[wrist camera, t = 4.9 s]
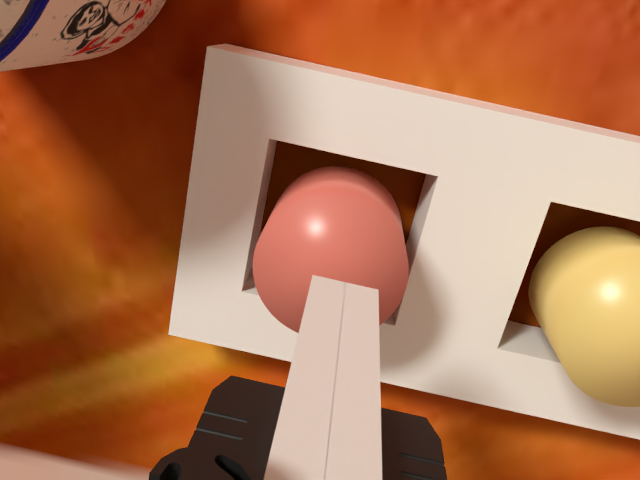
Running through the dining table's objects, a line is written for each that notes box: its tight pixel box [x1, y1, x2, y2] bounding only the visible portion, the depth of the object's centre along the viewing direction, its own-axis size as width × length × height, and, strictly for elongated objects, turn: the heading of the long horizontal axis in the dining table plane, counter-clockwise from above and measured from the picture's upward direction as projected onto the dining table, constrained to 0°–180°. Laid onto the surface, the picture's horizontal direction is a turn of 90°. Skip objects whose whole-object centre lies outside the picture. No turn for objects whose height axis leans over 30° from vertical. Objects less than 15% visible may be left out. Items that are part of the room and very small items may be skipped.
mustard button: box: [529, 226, 640, 407], centre depth 18 cm, size 4×4×4 cm
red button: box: [253, 166, 409, 333], centre depth 18 cm, size 4×4×4 cm
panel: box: [168, 43, 640, 440], centre depth 21 cm, size 28×10×2 cm, turn 78°
